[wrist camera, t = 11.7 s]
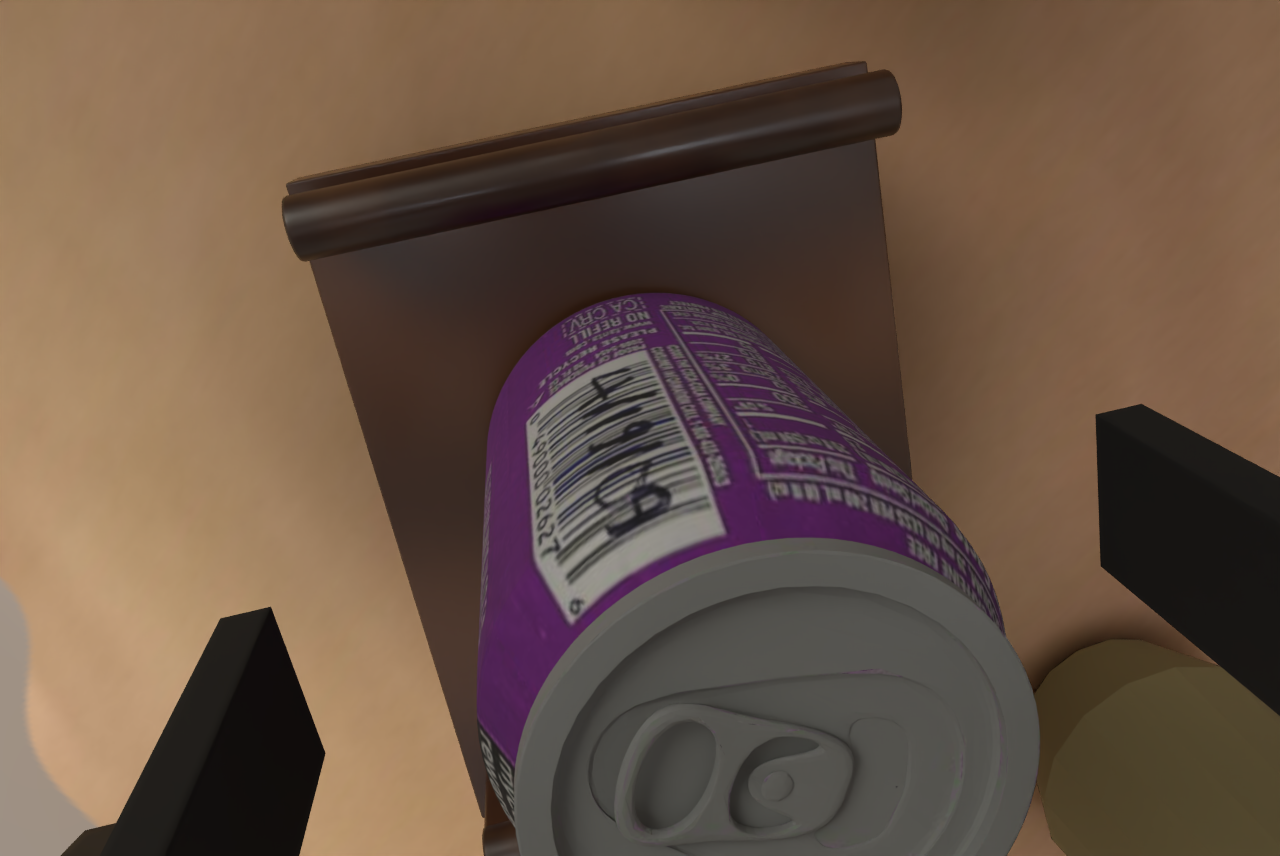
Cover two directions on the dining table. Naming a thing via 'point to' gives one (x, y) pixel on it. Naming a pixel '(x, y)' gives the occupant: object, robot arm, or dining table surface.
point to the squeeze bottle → (1156, 756)
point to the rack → (591, 292)
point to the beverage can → (729, 612)
